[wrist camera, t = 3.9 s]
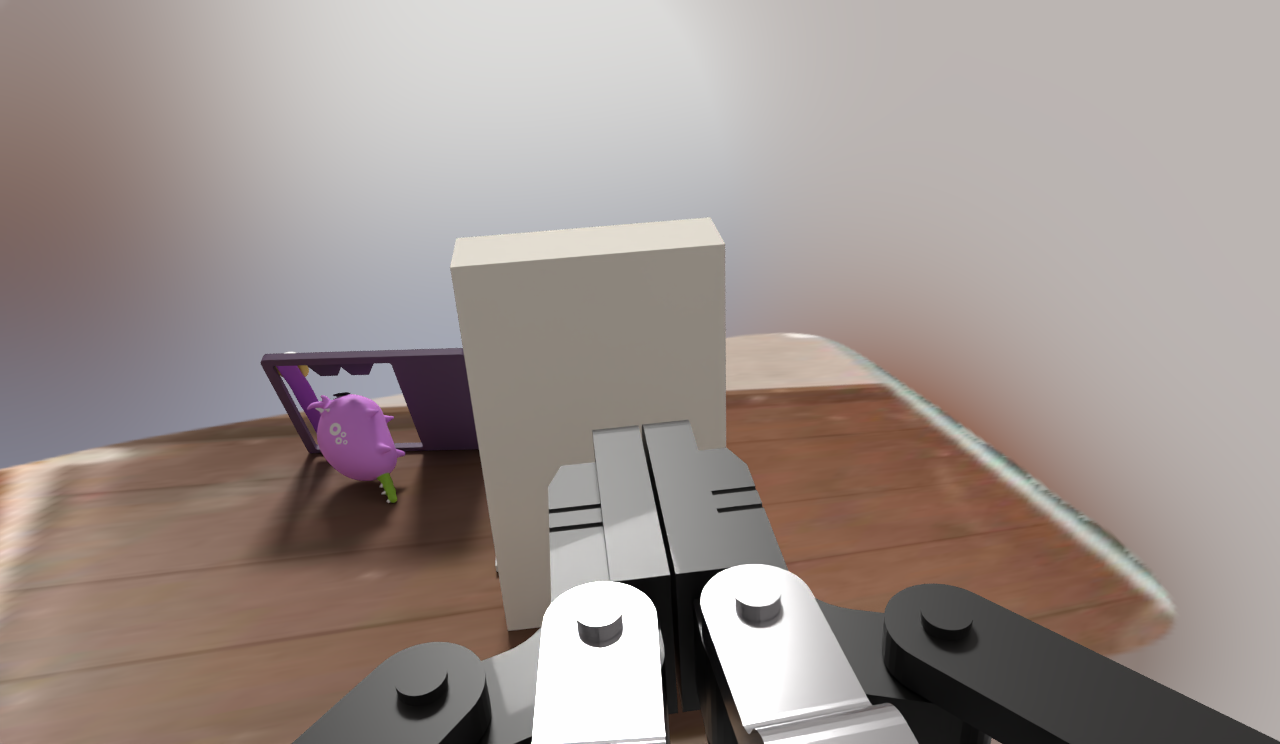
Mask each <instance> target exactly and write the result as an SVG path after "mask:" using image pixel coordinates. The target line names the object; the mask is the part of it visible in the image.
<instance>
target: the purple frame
mask: <svg viewBox="0 0 1280 744" xmlns="http://www.w3.org/2000/svg"><path fill="white" fill-rule="evenodd" d="M373 363H390V364H391V365H392V367H393V370H394V372H395V375H396V377H397V380H398V383H399V385H400V388H401V390H402V393H403V396H404V398H405V401H406V403H407V406H408V409H409V411H410V414H411V416H412V419H413V422H414V424H415V427H416V429H417V432H418V435H419V437H420V440H421V442H422V443H394V442H393V440H392V437H391V435H390V432H389V430H388V427H387V424H386V423H387V422H389V421H391V420H392V419H394V417H393V416H385V415H383V412H382V410H381V409H380V407H379V406H378V405H377V404H376V403H375V402H374V401H372V400H370V399H368V398H366V397H363V396H359V395H352V394H350V393H347V392H345V393H338V394H334V395H333V396H337V398H335V399H333V400H330V399H329V398H328V397H326V396H323V395H322V396H321V398H322V401H321V402H319V401H318V399H317V397H316V396H315V393H314V391H313V390H312V388H311V386H310V384H309V383H308V381H307V380H306V378H305V377H306V376H307V375H308V372H309V369H308V367H309V368H311V369H312V370H313V371H315V372H316V373H317V374H319V375H320V376H333V375H334V376H335V375H338V373H339V371H340V368H341V367H342V368H343V369H344V370H346V371H347V372H348V373H350V374H351V375H369V373H370V371H371V368H372V366H373ZM261 365H262V367H263V369H264V371H265V373H266V374H267V376H268V378H269V380H270V382H271V384H272V386H273V387H274V389H275V391H276V393H277V395H278V397H279V399H280V400H281V402H282V404H283V406H284V408H285V410H286V411H287V413H288V415H289V417H290V419H291V421H292V423H293V424H294V426H295V428H296V430H297V432H298V434H299V435H300V437H301V439H302V441H303V443H304V445H305V447H306V448H307V450H308V452H309V453H322V454H323V456H324V457H325V459H326V460H327V461H328V462H329V464H330V465H331V466H332V467H333V468H335V469H336V470H337V471H338V472H340V473H341V474H343V475H345V476H347V477H349V478H352V479H355V480H360V481H372V480H377V479H378V480H379V481H380V482H381V485H380V487H381V488H382V487H383V488H384V492H382V493H381V494H382V495H383V494H384V495H385V494H386V496H388V500H387V501H386V502H388V503H389V502H391V503H395V502H396V501H397V496H396V490H395V488H394V486H393V481H392V479H391V477H390V473H391V472H392V471H393V469H394V468H395V465H396V462H397V458H398V457H401V456H404V455H405V452H403V451H428V450H470V449H479V446H478V440H477V433H476V427H475V421H474V414H473V408H472V402H471V396H470V389H469V383H468V377H467V370H466V364H465V358H464V351H463V348H448V349H417V350H416V349H415V350H383V351H350V352H349V351H348V352H319V353H317V352H315V353H295V352H286V353H283V354H265V355H264V356H263V358H262V361H261ZM280 376H282V377H284V379H285V380H286V381H287V383H288V384H289V386H290V387H291V389H292V390H293V393H294V395H295V396H296V398H297V400H298V402H299V404H300V405H301V407H302V408H303V410H304V412H305V413H306V415H307V417H308V418H309V420H310V422H311V423H312V425H313V427H314V429H315V431H316V433H317V440H318V445H317V444H316V443H315V441H314V439H313V437H312V436H311V434H310V432H309V430H308V428H307V426H306V424H305V422H304V420H303V418H302V417H301V415H300V413H299V411H298V409H297V407H296V405H295V403H294V401H293V400H292V398H291V396H290V394H289V392H288V390H287V388H286V386H285V384H284V382H283V380H282V379H281V377H280Z"/></svg>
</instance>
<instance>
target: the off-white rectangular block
mask: <svg viewBox="0 0 1280 744" xmlns="http://www.w3.org/2000/svg"><path fill="white" fill-rule="evenodd" d="M450 269H451V275H452V281H453V288H454V294H455V301H456V307H457V313H458V320H459V326H460V332H461V338H462V345H463V351H464V358H465V364H466V370H467V377H468V383H469V389H470V396H471V402H472V408H473V414H474V421H475V427H476V433H477V440H478V446H479V452H480V459H481V465H482V471H483V478H484V484H485V490H486V497H487V503H488V509H489V516H490V522H491V528H492V534H493V541H494V547H495V553H496V560H497V566H498V572H499V579H500V585H501V591H502V598H503V604H504V610H505V617H506V623H507V629H508V631H512V630H521V629H529V628H538V627H541V626H542V625H543V620H544V616H545V614H546V612H547V610H548V608H549V607H550V606H551V573H550V540H549V533H550V532H549V507H548V486H549V484H550V483H551V481H552V480H553V478H554V476H555V475H556V473H557V472H558V470H559V468H560V467H561V466H564V465H573V464H582V463H591V462H595V456H594V446H593V435H592V430H597V429H606V428H616V427H625V426H634V425H638V426H639V429H640V434H641V439H642V424H651V423H661V422H670V421H679V420H689V422H690V424H691V427H692V431H693V434H694V437H695V440H696V444H697V447H698V450H708V449H717V448H726V340H725V243H724V241H723V240H722V238H721V236H720V234H719V232H718V231H717V229H716V227H715V225H714V224H713V222H712V220H711V218H698V219H685V220H673V221H661V222H649V223H636V224H624V225H613V226H601V227H589V228H576V229H564V230H553V231H539V232H529V233H515V234H503V235H491V236H480V237H466V238H457V239H456V243H455V247H454V252H453V257H452V261H451V266H450Z"/></svg>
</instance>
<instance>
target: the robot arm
mask: <svg viewBox="0 0 1280 744" xmlns="http://www.w3.org/2000/svg"><path fill="white" fill-rule="evenodd" d="M592 435H593V446H594V456H595V462H591V463H582V464H573V465H564V466H561V467H560V468H559V470H558V472H557V473H556V475H555V476H554V478H553V480H552V481H551V483H550V484H549V486H548V507H549V532H550V533H549V540H550V573H551V606H550V607H549V608H548V610H547V612H546V614H545V616H544V620H543V625H542V626H541V627H540V629H539V630H538V631H537V632H536V633H535V634H534V635H533V636H532V637H530V638H529V639H528V640H526V641H525V642H524V643H522V644H520V645H519V646H517V647H515V648H513V649H511V650H509V651H506V652H504V653H501V654H499V655H496V656H494V657H491V658H488V659H486V660H483V661H480V659H479V658H478V657H477V656H476V655H475V654H474V653H473V652H472V651H470V650H469V649H467V648H465V647H463V646H460V645H457V644H453V643H448V642H431V643H424V644H419V645H416V646H412V647H409V648H407V649H404V650H402V651H400V652H398V653H396V654H394V655H393V656H391V657H390V658H388V659H387V660H385V661H384V662H383V663H382V664H380V665H379V666H378V667H377V668H376V669H375V670H374V671H372V672H371V673H370V674H369V675H368V676H367V677H366V678H365V679H363V680H362V681H361V682H360V683H359V684H358V685H357V686H356V687H355V688H353V689H352V690H351V691H350V692H349V693H348V694H347V695H346V696H344V697H343V698H342V699H341V700H340V701H339V702H338V703H337V704H336V705H334V706H333V707H332V708H331V709H330V710H329V711H328V712H327V713H325V714H324V715H323V716H322V717H321V718H320V719H319V720H318V721H316V722H315V723H314V724H313V725H312V726H311V727H310V728H309V729H308V730H306V731H305V732H304V733H303V734H302V735H301V736H300V737H299V738H297V739H296V740H295V741H294V742H293V743H292V744H670V733H669V718H668V714H673V713H678V707H677V689H676V679H677V684H678V689H679V694H680V700H681V705H682V710H683V712H686V711H694V710H701V712H702V717H703V721H704V726H705V731H706V744H991V738H993V739H995V740H997V741H998V742H1000V743H1002V744H1280V742H1279V741H1277V740H1275V739H1273V738H1271V737H1269V736H1267V735H1265V734H1263V733H1261V732H1258V731H1257V730H1255V729H1252V728H1251V727H1248V726H1246V725H1244V724H1242V723H1240V722H1238V721H1236V720H1234V719H1232V718H1230V717H1228V716H1226V715H1224V714H1221V713H1220V712H1218V711H1216V710H1214V709H1211V708H1209V707H1207V706H1205V705H1203V704H1201V703H1199V702H1197V701H1195V700H1193V699H1191V698H1189V697H1187V696H1185V695H1183V694H1181V693H1179V692H1176V691H1174V690H1172V689H1170V688H1168V687H1166V686H1164V685H1162V684H1160V683H1158V682H1156V681H1154V680H1151V679H1150V678H1148V677H1145V676H1144V675H1141V674H1139V673H1137V672H1135V671H1133V670H1131V669H1129V668H1127V667H1125V666H1123V665H1121V664H1119V663H1116V662H1115V661H1113V660H1111V659H1109V658H1106V657H1104V656H1102V655H1100V654H1098V653H1096V652H1094V651H1092V650H1090V649H1088V648H1086V647H1084V646H1082V645H1080V644H1078V643H1076V642H1074V641H1071V640H1069V639H1067V638H1065V637H1063V636H1061V635H1059V634H1057V633H1055V632H1053V631H1051V630H1049V629H1047V628H1045V627H1043V626H1041V625H1039V624H1036V623H1034V622H1032V621H1030V620H1028V619H1026V618H1024V617H1022V616H1020V615H1018V614H1016V613H1014V612H1012V611H1010V610H1008V609H1006V608H1004V607H1001V606H999V605H997V604H995V603H993V602H991V601H989V600H987V599H985V598H983V597H981V596H979V595H977V594H975V593H972V592H970V591H968V590H965V589H962V588H959V587H955V586H950V585H945V584H922V585H916V586H912V587H909V588H906V589H904V590H902V591H900V592H898V593H897V594H896V595H894V596H893V597H892V598H891V600H890V601H889V602H888V604H887V606H886V608H885V613H878V612H870V611H862V610H853V609H847V608H841V607H837V606H834V605H830V604H827V603H825V602H822V601H820V600H818V599H816V598H814V596H813V594H812V592H811V590H810V589H809V587H808V586H807V585H806V584H805V583H804V582H803V581H802V580H801V579H800V578H799V577H797V576H796V575H794V574H792V573H791V572H789V571H788V569H787V566H786V564H785V561H784V559H783V556H782V553H781V551H780V548H779V546H778V543H777V541H776V538H775V535H774V533H773V530H772V528H771V525H770V523H769V520H768V517H767V515H766V512H765V510H764V508H762V502H761V500H760V497H759V494H758V492H757V490H756V489H755V484H754V482H753V479H752V476H751V474H750V471H749V469H748V466H747V464H746V463H744V462H743V461H742V460H741V459H739V458H738V457H737V456H736V455H735V454H733V453H732V452H731V451H730V450H729V449H727V448H717V449H708V450H698V447H697V444H696V440H695V437H694V434H693V431H692V427H691V424H690V422H689V420H679V421H670V422H661V423H651V424H642V439H641V434H640V429H639V426H638V425H634V426H625V427H616V428H606V429H597V430H592Z"/></svg>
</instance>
